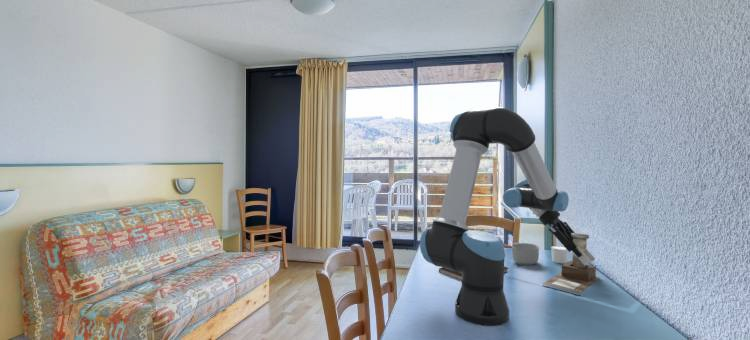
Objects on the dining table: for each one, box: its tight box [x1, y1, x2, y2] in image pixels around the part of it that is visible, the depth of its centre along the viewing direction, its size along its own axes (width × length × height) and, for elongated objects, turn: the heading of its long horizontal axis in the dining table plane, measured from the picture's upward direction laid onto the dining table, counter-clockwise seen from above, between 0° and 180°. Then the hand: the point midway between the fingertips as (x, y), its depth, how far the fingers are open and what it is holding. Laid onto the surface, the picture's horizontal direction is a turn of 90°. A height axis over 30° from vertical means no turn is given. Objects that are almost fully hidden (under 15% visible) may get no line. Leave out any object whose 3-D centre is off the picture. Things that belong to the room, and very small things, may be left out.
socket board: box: [542, 260, 601, 297], centre depth 130 cm, size 23×12×5 cm, turn 133°
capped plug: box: [571, 232, 590, 269], centre depth 134 cm, size 6×6×16 cm
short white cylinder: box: [550, 245, 570, 264], centre depth 154 cm, size 7×7×7 cm
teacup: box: [511, 242, 540, 267], centre depth 154 cm, size 14×11×8 cm
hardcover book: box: [438, 266, 510, 281], centre depth 141 cm, size 16×23×2 cm
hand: (590, 262), depth 132 cm, fingers closed on capped plug, 4 cm apart
